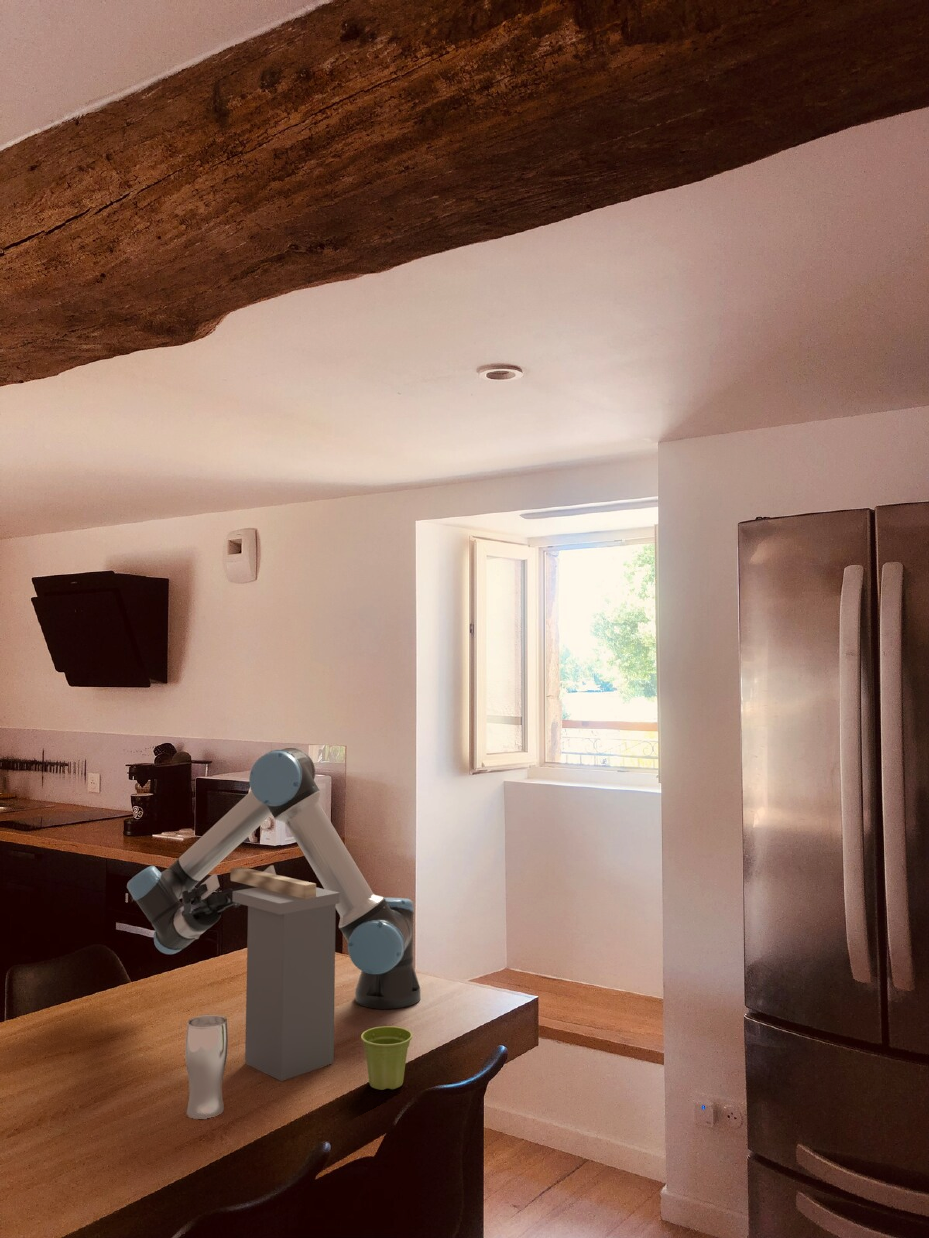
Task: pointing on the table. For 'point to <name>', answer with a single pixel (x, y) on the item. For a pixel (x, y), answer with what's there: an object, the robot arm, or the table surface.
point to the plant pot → (386, 1055)
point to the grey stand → (289, 981)
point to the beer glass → (206, 1064)
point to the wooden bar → (274, 882)
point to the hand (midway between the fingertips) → (245, 875)
